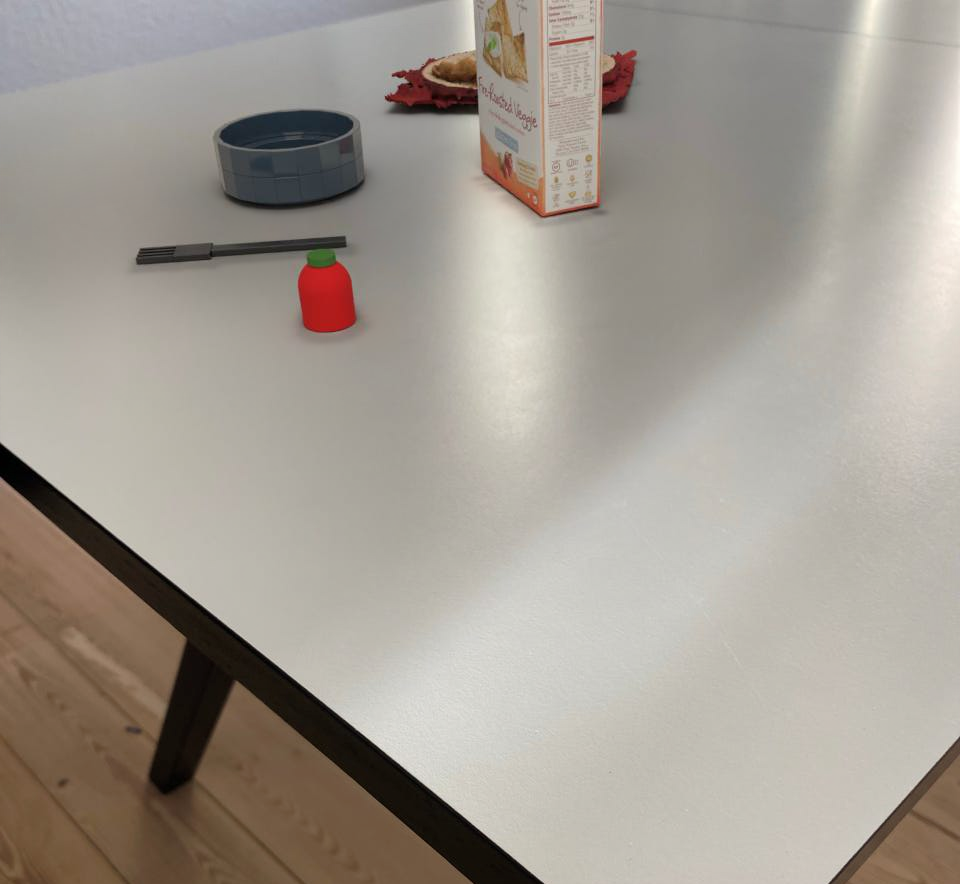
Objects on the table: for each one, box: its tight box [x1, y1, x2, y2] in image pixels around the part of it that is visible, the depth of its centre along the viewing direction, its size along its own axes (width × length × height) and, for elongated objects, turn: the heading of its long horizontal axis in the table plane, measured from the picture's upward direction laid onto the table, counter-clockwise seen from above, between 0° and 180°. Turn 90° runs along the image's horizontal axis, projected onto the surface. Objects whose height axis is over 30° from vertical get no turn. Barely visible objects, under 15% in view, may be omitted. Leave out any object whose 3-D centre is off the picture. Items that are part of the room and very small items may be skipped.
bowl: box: [212, 108, 366, 206], centre depth 103 cm, size 13×13×5 cm
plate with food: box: [384, 49, 638, 110], centre depth 127 cm, size 24×26×3 cm
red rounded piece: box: [297, 248, 357, 333], centre depth 79 cm, size 4×4×5 cm
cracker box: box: [472, 0, 605, 217], centre depth 94 cm, size 14×6×21 cm, turn 22°
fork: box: [135, 235, 347, 265], centre depth 92 cm, size 2×17×1 cm, turn 95°
